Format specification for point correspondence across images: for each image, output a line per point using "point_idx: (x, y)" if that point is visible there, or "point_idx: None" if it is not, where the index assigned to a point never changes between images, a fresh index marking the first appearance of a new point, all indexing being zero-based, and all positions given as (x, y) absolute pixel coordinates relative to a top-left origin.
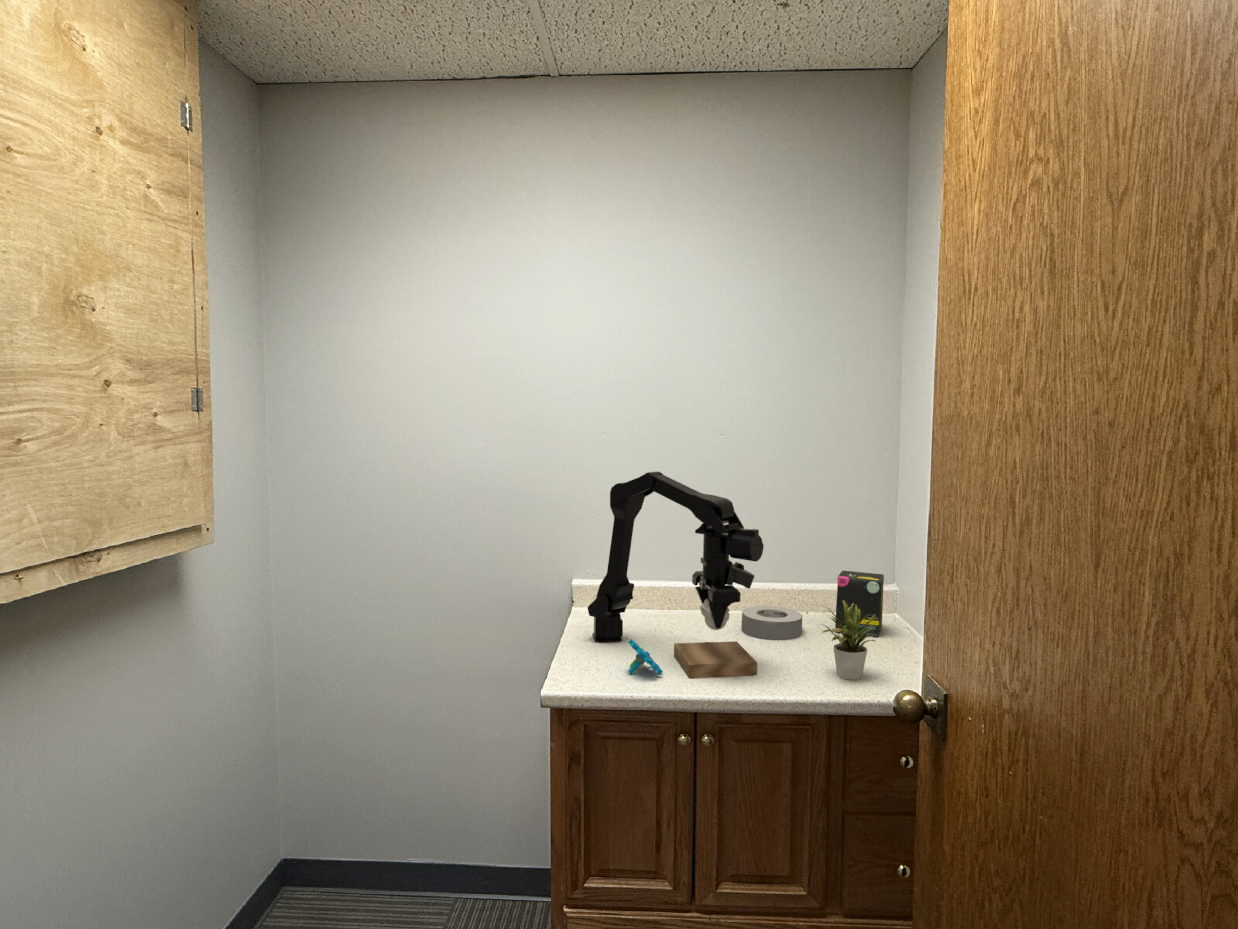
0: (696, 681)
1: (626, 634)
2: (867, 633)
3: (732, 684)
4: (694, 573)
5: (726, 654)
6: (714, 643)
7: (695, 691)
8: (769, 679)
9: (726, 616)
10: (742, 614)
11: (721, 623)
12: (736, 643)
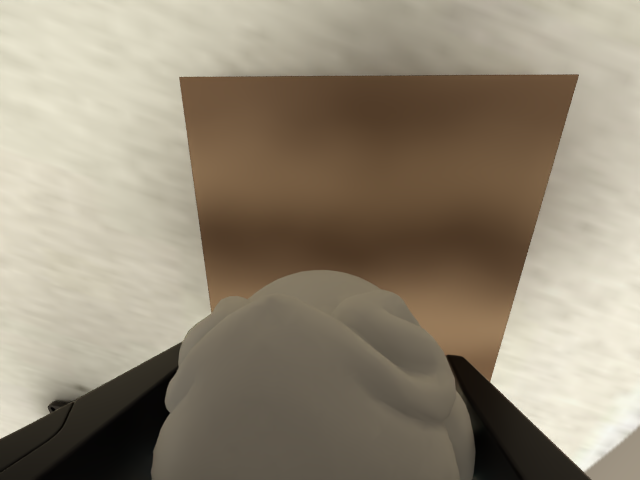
0: (505, 345)
1: (48, 380)
2: None
3: (597, 237)
4: None
5: (392, 209)
6: (216, 209)
7: (602, 379)
8: (619, 29)
9: (446, 366)
10: None
11: (490, 390)
12: (216, 91)
